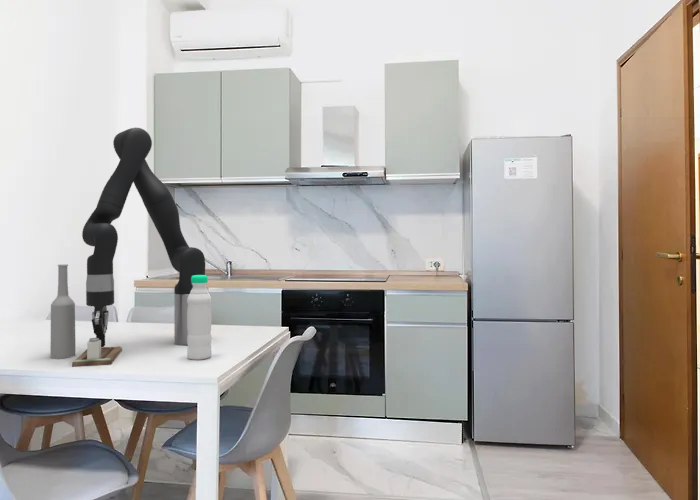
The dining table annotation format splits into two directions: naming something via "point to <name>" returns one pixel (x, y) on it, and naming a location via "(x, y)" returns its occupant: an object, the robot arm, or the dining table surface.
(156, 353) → the dining table surface
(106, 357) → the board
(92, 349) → the slider knob
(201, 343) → the water bottle
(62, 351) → the bottle
